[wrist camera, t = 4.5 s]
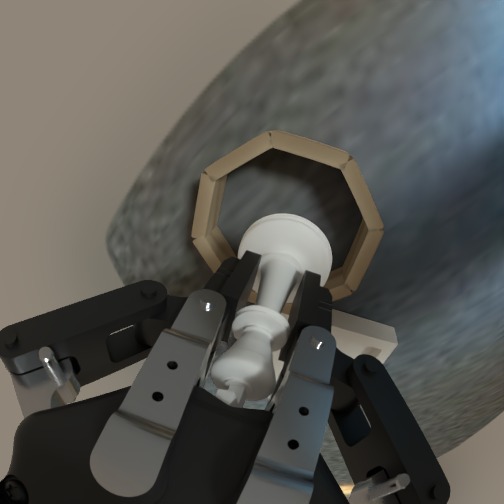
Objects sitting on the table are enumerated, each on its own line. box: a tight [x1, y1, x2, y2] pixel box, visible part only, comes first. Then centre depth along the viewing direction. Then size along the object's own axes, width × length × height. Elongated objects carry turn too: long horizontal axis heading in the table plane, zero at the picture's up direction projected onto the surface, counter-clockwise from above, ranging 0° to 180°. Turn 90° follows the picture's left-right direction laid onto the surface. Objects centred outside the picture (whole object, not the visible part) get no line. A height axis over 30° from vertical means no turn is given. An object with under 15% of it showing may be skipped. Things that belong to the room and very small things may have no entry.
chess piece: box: [210, 213, 332, 408], centre depth 10 cm, size 5×5×10 cm
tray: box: [268, 309, 398, 398], centre depth 24 cm, size 12×12×2 cm
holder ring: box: [191, 130, 384, 315], centre depth 18 cm, size 12×12×2 cm
